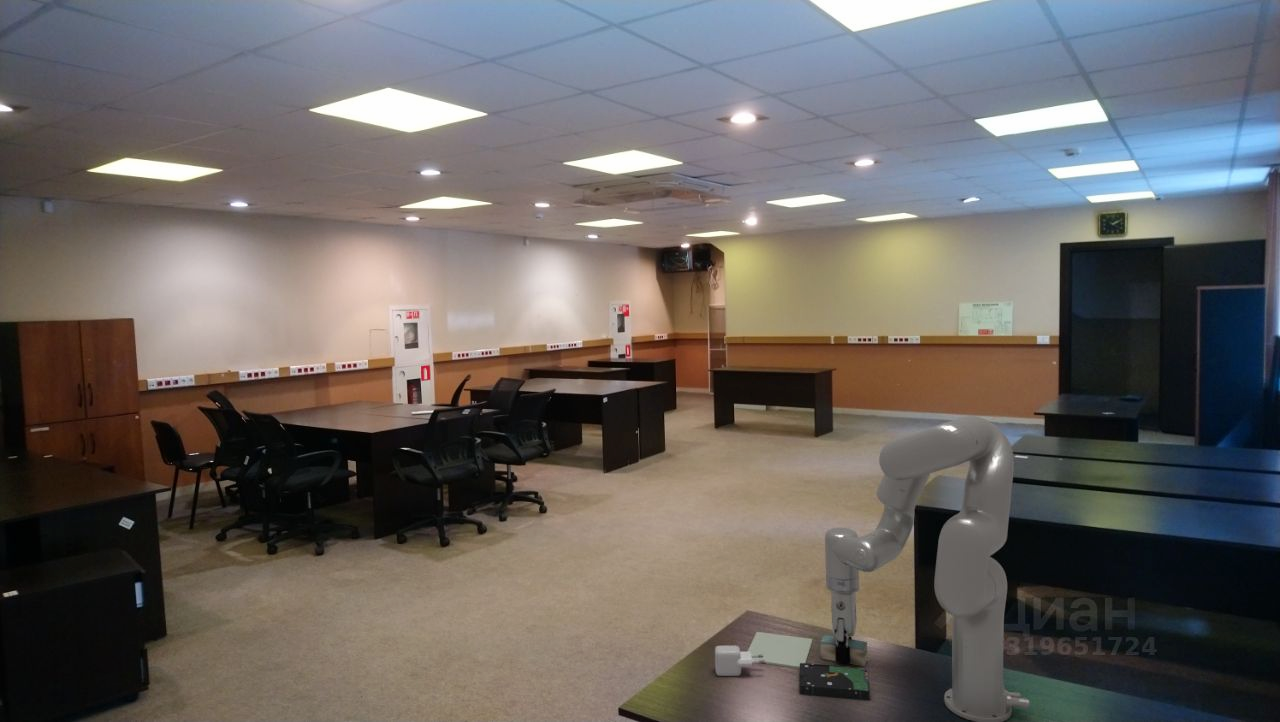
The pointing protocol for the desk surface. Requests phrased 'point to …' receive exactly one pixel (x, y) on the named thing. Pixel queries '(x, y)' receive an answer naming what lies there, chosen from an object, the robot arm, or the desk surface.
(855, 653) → the teal-faced wooden block
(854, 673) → the disk drive
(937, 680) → the desk surface
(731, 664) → the power adapter
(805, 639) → the mat
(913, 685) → the desk surface
